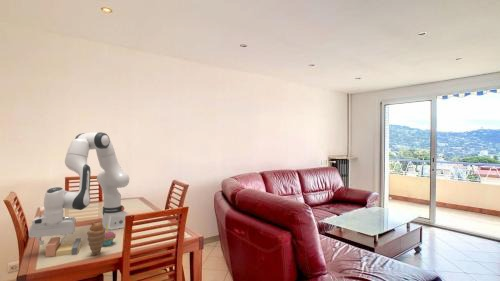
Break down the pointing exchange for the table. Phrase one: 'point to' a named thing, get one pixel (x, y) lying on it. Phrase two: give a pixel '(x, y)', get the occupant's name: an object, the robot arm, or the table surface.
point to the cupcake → (108, 237)
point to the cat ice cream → (96, 237)
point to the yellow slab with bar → (69, 248)
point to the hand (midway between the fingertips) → (52, 243)
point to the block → (52, 246)
